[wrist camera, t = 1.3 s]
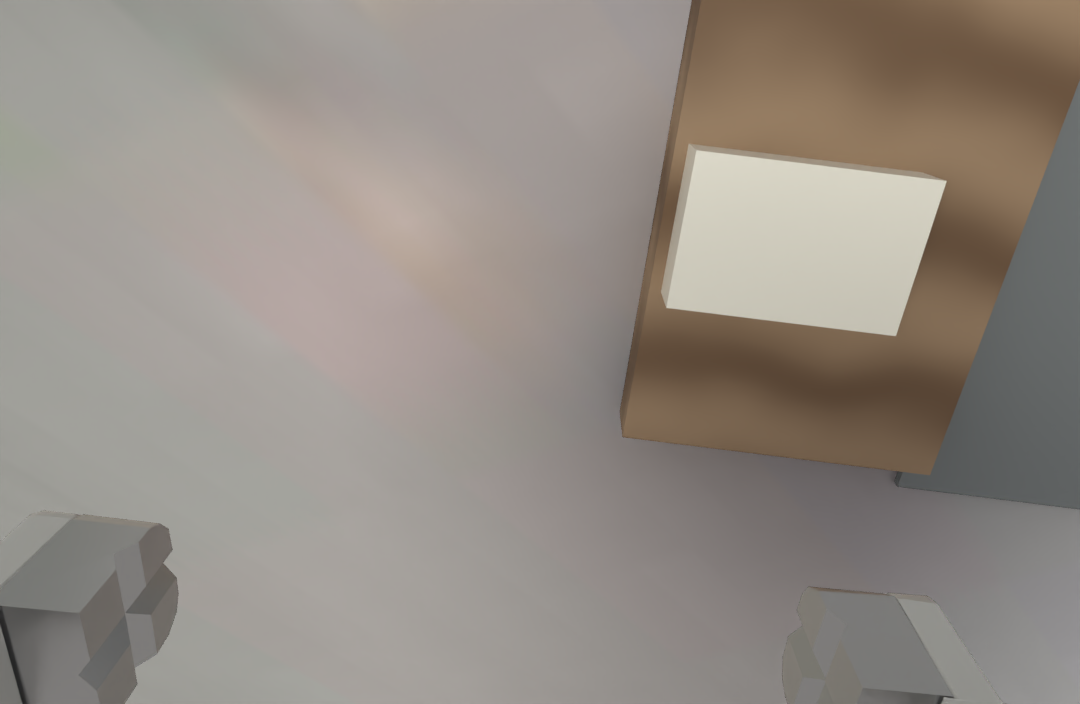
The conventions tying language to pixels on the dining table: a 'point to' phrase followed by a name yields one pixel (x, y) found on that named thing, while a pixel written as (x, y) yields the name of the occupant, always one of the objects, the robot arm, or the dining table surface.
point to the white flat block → (798, 239)
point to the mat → (1026, 361)
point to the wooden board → (865, 139)
